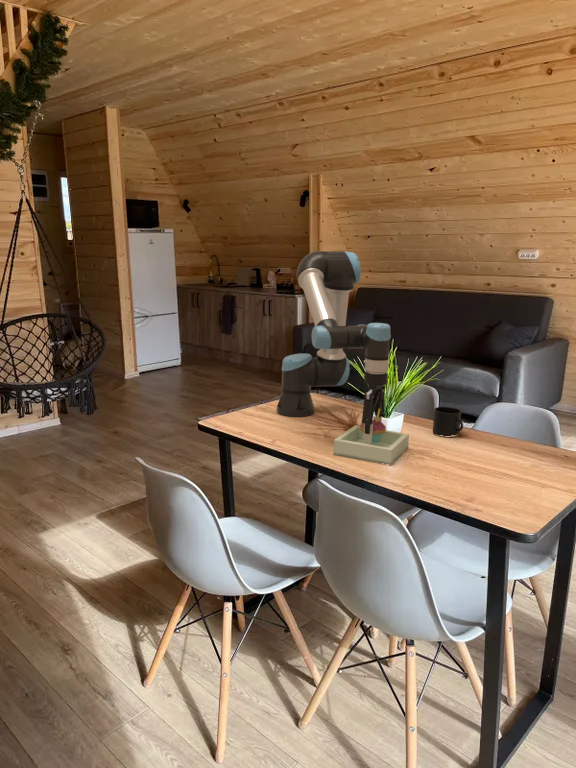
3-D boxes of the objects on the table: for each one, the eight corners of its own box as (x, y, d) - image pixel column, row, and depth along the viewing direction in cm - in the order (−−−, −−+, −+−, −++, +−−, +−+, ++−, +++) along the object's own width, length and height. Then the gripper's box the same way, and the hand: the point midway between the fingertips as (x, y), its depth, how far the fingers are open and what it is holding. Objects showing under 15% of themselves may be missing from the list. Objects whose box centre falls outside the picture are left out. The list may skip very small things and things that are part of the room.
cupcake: (384, 438, 203) (386, 403, 201) (385, 446, 195) (388, 410, 192) (358, 436, 204) (360, 402, 201) (358, 444, 196) (360, 409, 193)
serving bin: (354, 438, 213) (355, 425, 212) (408, 448, 204) (409, 434, 203) (333, 454, 196) (334, 439, 195) (390, 465, 188) (391, 450, 187)
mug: (452, 441, 213) (455, 416, 211) (427, 432, 223) (428, 408, 221) (470, 437, 218) (472, 413, 216) (444, 428, 228) (446, 405, 226)
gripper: (375, 365, 205) (371, 429, 210) (353, 376, 187) (349, 446, 192) (397, 367, 202) (392, 432, 207) (376, 379, 184) (372, 450, 189)
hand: (372, 439), depth 199 cm, fingers closed on cupcake, 8 cm apart
